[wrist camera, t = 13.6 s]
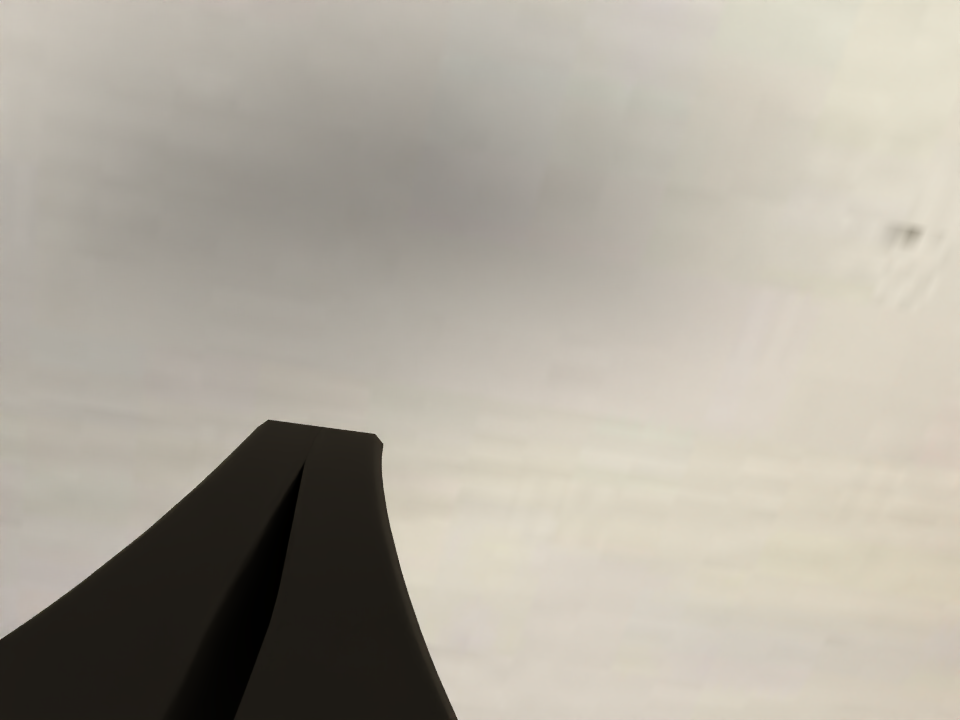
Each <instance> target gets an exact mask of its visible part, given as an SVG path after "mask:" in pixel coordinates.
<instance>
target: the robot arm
mask: <svg viewBox="0 0 960 720" xmlns="http://www.w3.org/2000/svg"><path fill="white" fill-rule="evenodd" d="M382 451H383V443H382V442H381V441H380V439H379V438H378V437H377V436H376V435H375V434H371V433H363V432H356V431H348V430H341V429H333V428H326V427H318V426H311V425H304V424H296V423H289V422H281V421H274V420H267V421H266V422H264V423H263V424H261V425H260V426H258V427H257V428H256V429H255V430H254V431H253V432H252V433H251V434H250V435H249V436H248V437H247V438H246V439H245V440H244V441H243V442H242V443H241V444H240V445H239V446H238V447H237V448H236V449H235V450H234V451H233V452H232V453H231V454H230V455H229V456H228V457H227V458H226V459H225V460H224V461H223V462H222V463H221V464H220V465H219V466H218V467H217V468H216V469H215V470H214V471H213V472H212V473H211V474H210V475H208V476H207V477H206V478H205V479H204V480H203V481H202V482H201V483H200V484H199V485H198V486H197V487H196V488H195V489H193V490H192V491H191V492H190V493H189V494H188V495H187V496H185V497H184V498H183V499H182V500H181V501H180V502H179V503H178V504H176V505H175V506H174V507H173V508H172V509H171V510H170V511H168V512H167V513H166V514H165V515H164V516H163V517H162V518H161V519H159V520H158V521H157V522H156V523H155V524H154V525H153V526H151V527H150V528H149V529H148V530H147V531H145V532H144V533H143V534H142V535H141V536H139V537H138V538H137V539H136V540H134V541H133V542H132V543H131V544H129V545H128V546H127V547H126V548H124V549H123V550H122V551H121V552H119V553H118V554H117V555H115V556H114V557H113V558H112V559H110V560H109V561H108V562H107V563H105V564H104V565H103V566H102V567H100V568H99V569H98V570H96V571H95V572H94V573H93V574H91V575H90V576H89V577H88V578H86V579H85V580H84V581H83V582H81V583H80V584H79V585H77V586H76V587H75V588H73V589H72V590H71V591H69V592H68V593H66V594H65V595H64V596H62V597H61V598H60V599H58V600H57V601H55V602H54V603H53V604H51V605H50V606H49V607H47V608H46V609H44V610H43V611H42V612H40V613H39V614H37V615H36V616H34V617H33V618H32V619H30V620H29V621H27V622H26V623H24V624H23V625H21V626H20V627H18V628H17V629H15V630H14V631H12V632H11V633H9V634H8V635H6V636H5V637H3V638H2V639H0V720H458V719H457V717H456V715H455V713H454V711H453V708H452V706H451V704H450V701H449V699H448V697H447V694H446V692H445V690H444V688H443V685H442V683H441V681H440V678H439V676H438V674H437V671H436V669H435V666H434V664H433V661H432V659H431V656H430V654H429V651H428V648H427V646H426V643H425V641H424V638H423V635H422V633H421V630H420V627H419V624H418V621H417V618H416V615H415V612H414V609H413V606H412V603H411V600H410V598H409V594H408V591H407V588H406V585H405V581H404V578H403V575H402V571H401V568H400V564H399V560H398V556H397V552H396V548H395V544H394V540H393V536H392V532H391V528H390V523H389V519H388V514H387V508H386V502H385V495H384V489H383V480H382Z"/></svg>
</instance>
